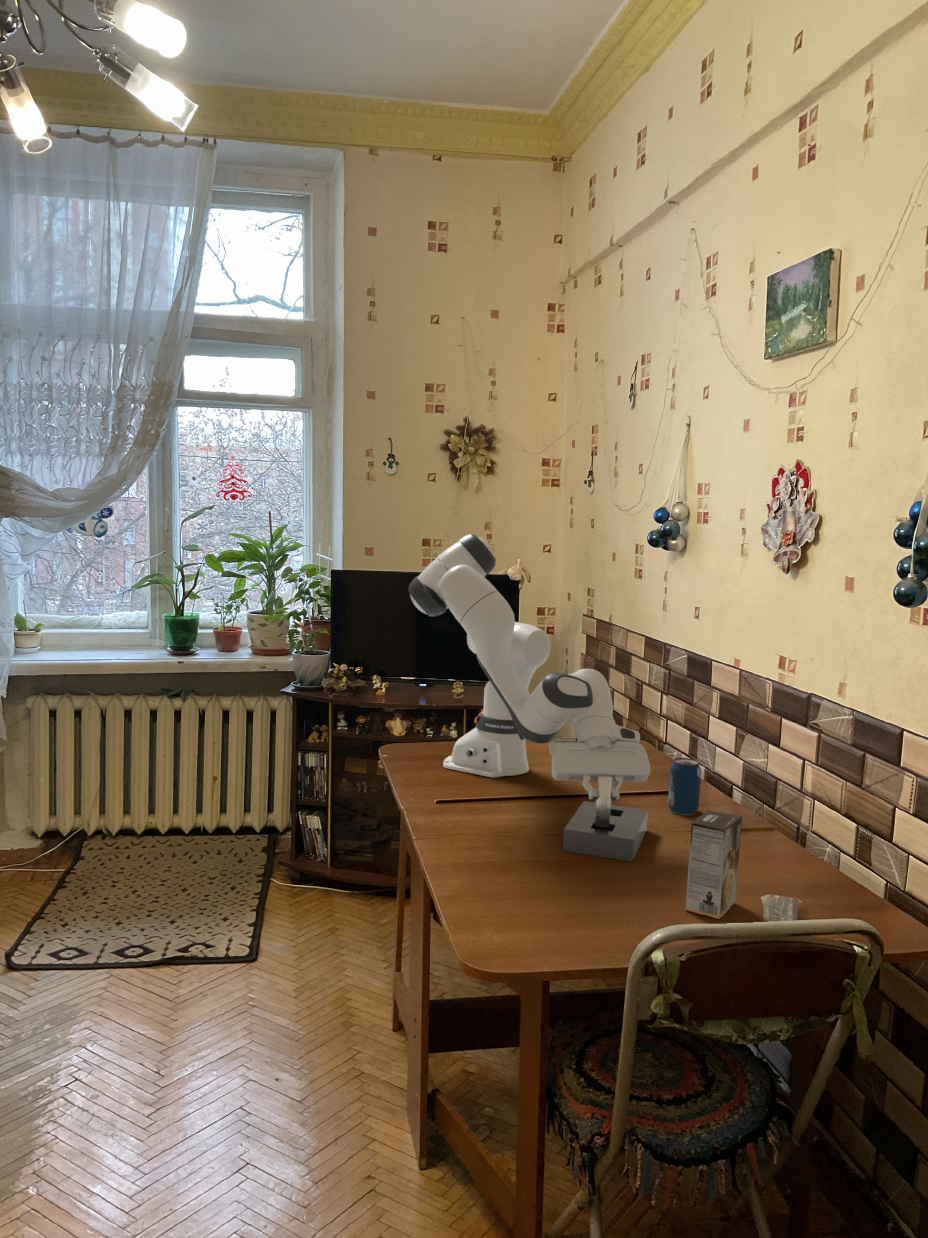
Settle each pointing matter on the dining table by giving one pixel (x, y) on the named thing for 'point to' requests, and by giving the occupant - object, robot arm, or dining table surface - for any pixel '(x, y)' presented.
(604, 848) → the grey peg hole block
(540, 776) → the dining table surface
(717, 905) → the coffee box
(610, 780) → the steel pin
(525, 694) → the robot arm
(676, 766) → the soda can
